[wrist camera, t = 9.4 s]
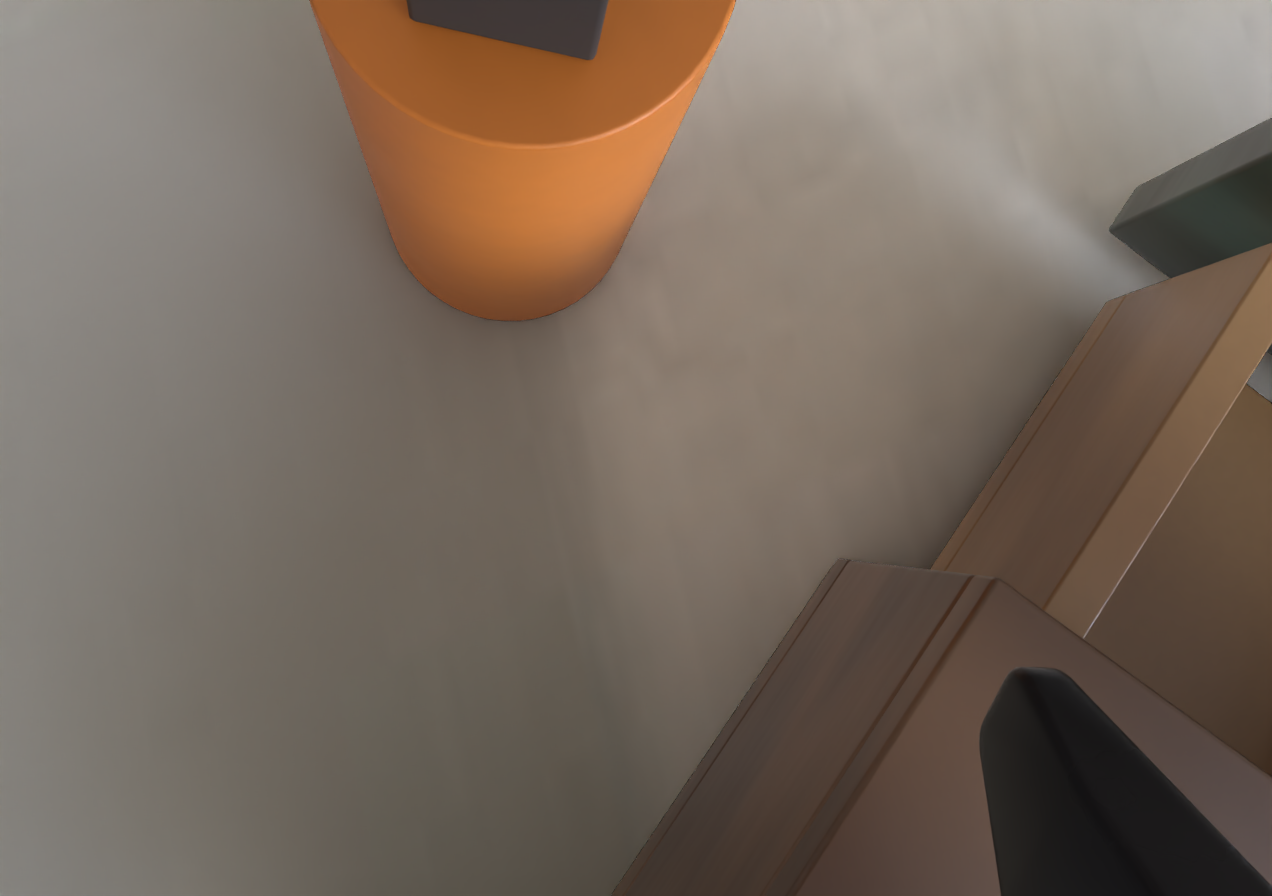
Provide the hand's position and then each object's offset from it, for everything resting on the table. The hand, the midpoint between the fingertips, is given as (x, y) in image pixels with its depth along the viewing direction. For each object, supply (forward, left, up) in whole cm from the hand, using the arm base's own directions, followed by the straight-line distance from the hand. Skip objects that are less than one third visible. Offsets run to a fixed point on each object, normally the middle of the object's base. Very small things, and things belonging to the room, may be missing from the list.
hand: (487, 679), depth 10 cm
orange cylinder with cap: (+7, +1, -14) cm, 16 cm away
